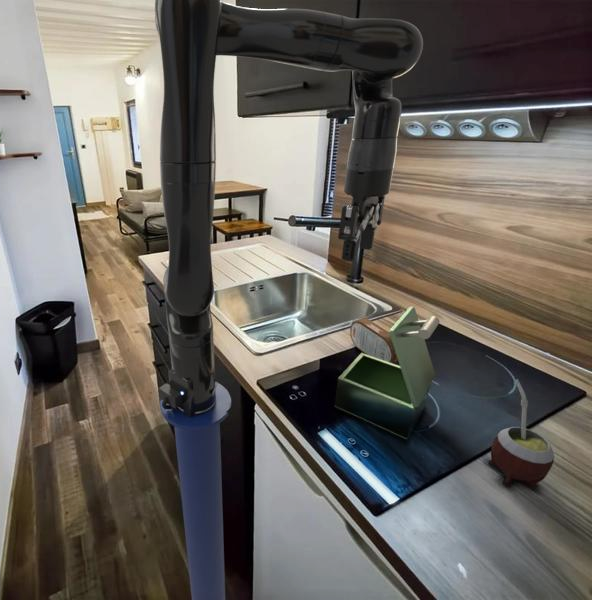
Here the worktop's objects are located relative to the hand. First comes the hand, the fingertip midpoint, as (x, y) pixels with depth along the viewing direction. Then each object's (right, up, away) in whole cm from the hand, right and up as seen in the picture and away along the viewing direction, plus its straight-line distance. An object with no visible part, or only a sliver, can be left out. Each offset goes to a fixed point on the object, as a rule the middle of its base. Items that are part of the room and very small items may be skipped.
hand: (357, 254), depth 71 cm
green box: (+6, -31, +4) cm, 32 cm away
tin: (+13, -23, +20) cm, 33 cm away
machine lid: (+8, -19, -5) cm, 21 cm away
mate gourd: (+20, -37, -11) cm, 44 cm away
